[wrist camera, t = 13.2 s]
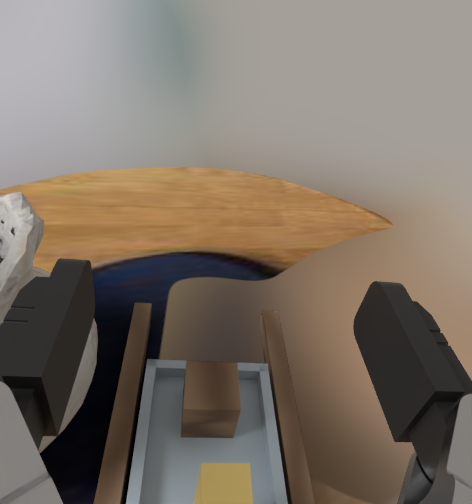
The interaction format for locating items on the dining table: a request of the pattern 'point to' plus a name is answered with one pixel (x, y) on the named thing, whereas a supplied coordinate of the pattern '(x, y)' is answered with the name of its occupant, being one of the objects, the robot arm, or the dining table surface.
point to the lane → (128, 396)
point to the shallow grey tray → (205, 445)
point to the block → (210, 400)
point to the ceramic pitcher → (21, 272)
